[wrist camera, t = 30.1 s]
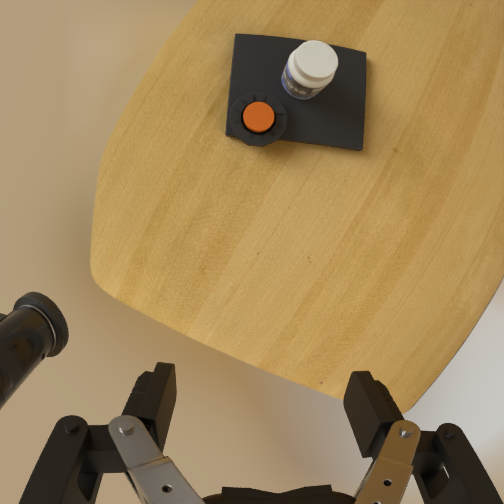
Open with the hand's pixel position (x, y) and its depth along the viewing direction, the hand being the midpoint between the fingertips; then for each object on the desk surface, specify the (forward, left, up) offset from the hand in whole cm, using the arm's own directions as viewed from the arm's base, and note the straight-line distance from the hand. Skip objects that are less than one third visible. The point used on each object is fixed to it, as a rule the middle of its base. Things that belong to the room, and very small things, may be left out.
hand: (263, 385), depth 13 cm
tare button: (-1, +15, -23) cm, 27 cm away
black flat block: (+4, +19, -26) cm, 32 cm away
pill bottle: (+4, +20, -25) cm, 32 cm away
